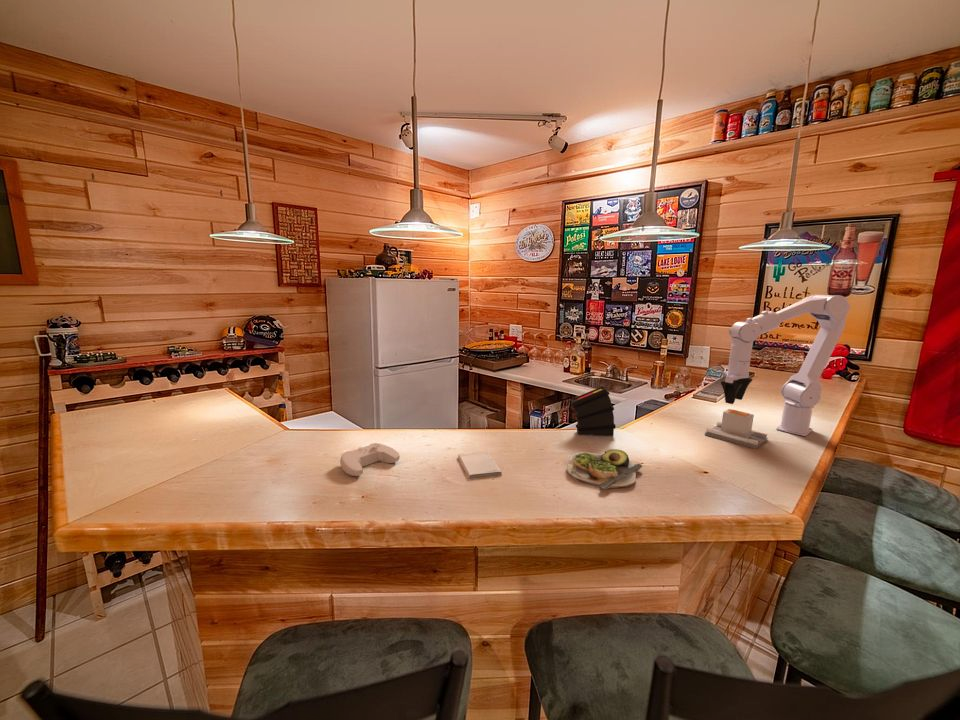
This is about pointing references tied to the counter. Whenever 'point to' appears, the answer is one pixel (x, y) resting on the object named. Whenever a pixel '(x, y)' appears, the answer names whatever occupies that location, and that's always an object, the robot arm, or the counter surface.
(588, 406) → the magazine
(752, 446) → the rail mount
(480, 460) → the hard drive
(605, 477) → the avocado toast plate
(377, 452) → the game controller
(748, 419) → the module block
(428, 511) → the counter surface
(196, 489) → the counter surface
